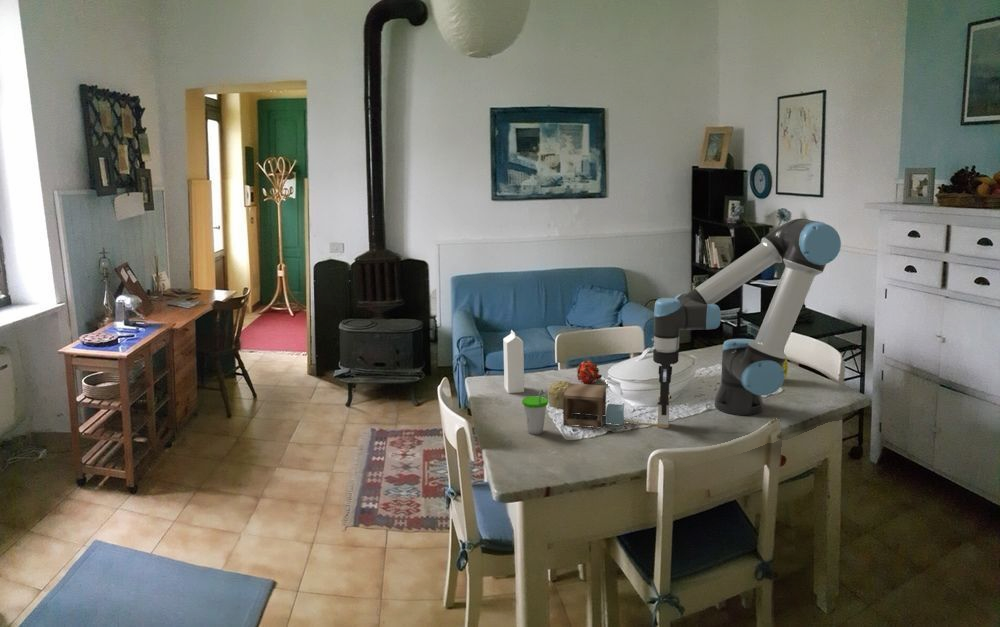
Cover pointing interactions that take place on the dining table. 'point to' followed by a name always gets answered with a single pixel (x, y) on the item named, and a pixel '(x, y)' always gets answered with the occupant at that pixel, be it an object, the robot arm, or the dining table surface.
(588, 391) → the brown wooden box
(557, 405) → the decorative item
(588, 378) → the dragon fruit
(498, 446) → the dining table surface
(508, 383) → the milk
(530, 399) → the cup
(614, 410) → the tethered block
